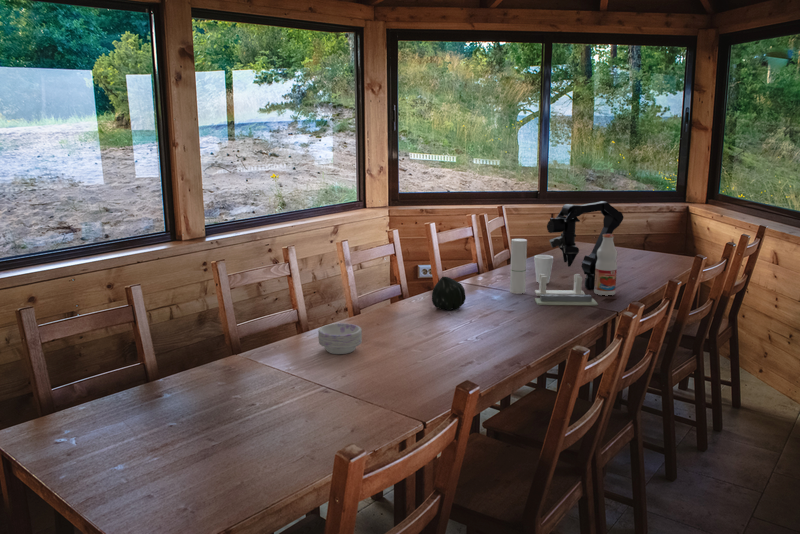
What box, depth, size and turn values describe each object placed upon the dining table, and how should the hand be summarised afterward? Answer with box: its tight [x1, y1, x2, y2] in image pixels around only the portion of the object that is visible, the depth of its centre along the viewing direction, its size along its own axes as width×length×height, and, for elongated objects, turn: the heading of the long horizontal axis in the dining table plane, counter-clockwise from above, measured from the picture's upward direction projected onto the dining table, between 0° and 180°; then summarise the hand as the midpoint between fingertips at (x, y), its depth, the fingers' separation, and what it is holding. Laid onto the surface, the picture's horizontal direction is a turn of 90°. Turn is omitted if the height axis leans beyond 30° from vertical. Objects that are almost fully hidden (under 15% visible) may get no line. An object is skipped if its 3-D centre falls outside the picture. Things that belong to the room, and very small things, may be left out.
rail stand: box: [534, 273, 586, 297], centre depth 292 cm, size 22×6×9 cm, turn 87°
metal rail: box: [539, 294, 593, 302], centre depth 279 cm, size 22×3×2 cm, turn 87°
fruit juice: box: [593, 233, 618, 297], centre depth 291 cm, size 9×9×28 cm
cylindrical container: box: [509, 238, 528, 295], centre depth 295 cm, size 7×7×25 cm
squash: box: [431, 276, 467, 311], centre depth 272 cm, size 14×15×15 cm
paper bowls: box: [317, 322, 363, 355], centre depth 222 cm, size 15×15×8 cm
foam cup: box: [533, 254, 554, 284], centre depth 315 cm, size 10×9×13 cm
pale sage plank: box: [534, 297, 599, 306], centre depth 279 cm, size 26×8×1 cm, turn 87°
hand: (567, 264), depth 296 cm, fingers open, 9 cm apart
